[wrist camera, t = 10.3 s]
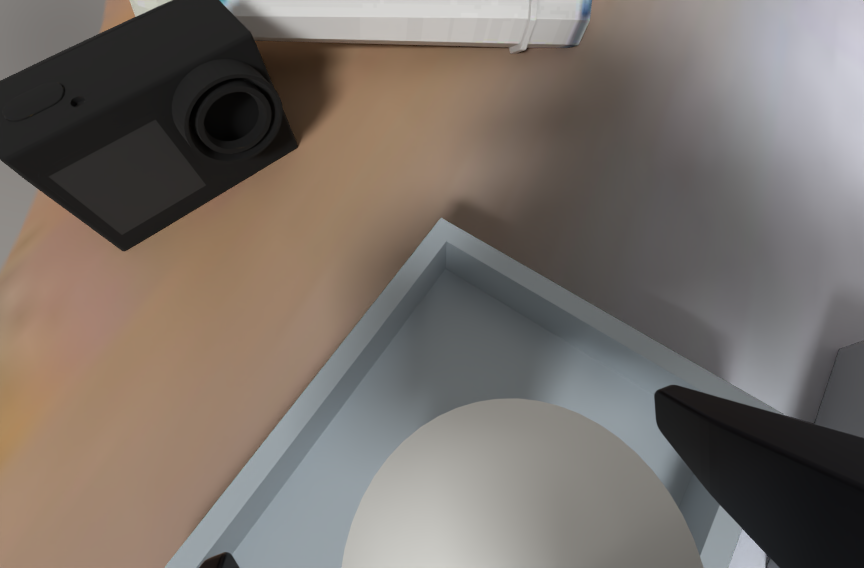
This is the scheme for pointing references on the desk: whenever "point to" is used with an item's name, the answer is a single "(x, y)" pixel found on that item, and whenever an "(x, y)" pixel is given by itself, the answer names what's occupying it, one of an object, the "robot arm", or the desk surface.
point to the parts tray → (452, 401)
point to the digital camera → (145, 119)
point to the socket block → (844, 396)
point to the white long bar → (412, 21)
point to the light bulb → (517, 497)
